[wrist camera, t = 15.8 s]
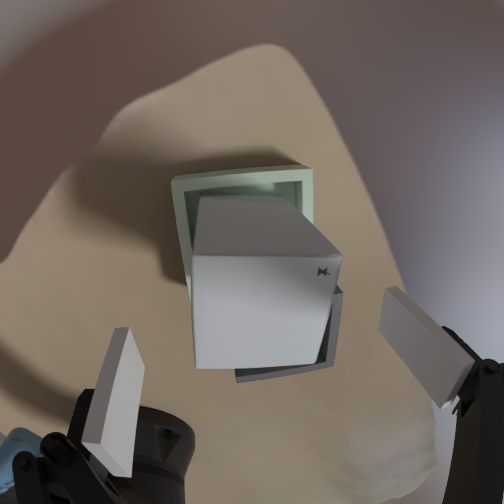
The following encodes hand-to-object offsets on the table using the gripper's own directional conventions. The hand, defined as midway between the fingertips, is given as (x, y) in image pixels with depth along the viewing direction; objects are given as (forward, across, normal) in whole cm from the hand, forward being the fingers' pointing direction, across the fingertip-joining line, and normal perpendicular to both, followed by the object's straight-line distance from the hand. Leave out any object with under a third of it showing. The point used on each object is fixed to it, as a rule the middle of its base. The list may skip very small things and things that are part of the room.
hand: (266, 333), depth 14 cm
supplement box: (+13, 0, +1) cm, 13 cm away
